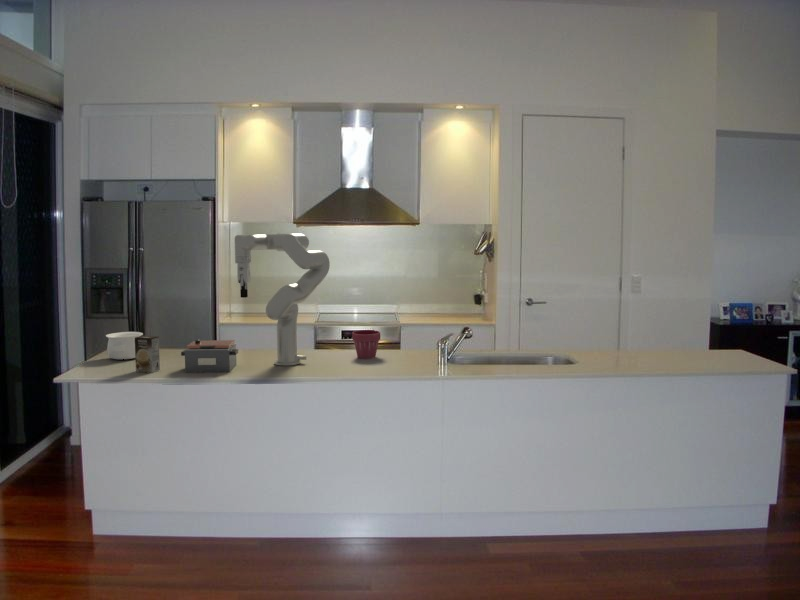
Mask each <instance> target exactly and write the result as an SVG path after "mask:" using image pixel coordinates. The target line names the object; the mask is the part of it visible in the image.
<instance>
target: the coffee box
mask: <svg viewBox="0 0 800 600" xmlns="http://www.w3.org/2000/svg"><path fill="white" fill-rule="evenodd" d="M160 356H161V355H160V336H159V335H158V336H156V335H144V334H143V335H141V336H139V337H135V358H134V359H135V360H134V361H135V372H136V373H145V372H147V373H149V374H153V373H156V371H157V372H159V370H160V371H161V363H160V361H161V360H160V359H161V358H160ZM147 373H146V374H147Z"/></svg>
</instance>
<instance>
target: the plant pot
mask: <svg viewBox="0 0 800 600" xmlns="http://www.w3.org/2000/svg"><path fill="white" fill-rule="evenodd" d="M351 334H352V336H351V338H352V341H353V343H354V346H355V352H356V356H357V359H358V358H359V359H363V360H366V359H367V360H368V359H374V358H376V355H377V352H378V347H379V340H381V331H379V330H375V329H373V330H372V329H362V330H354V331H352V333H351Z"/></svg>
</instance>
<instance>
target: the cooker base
mask: <svg viewBox="0 0 800 600" xmlns="http://www.w3.org/2000/svg"><path fill="white" fill-rule="evenodd" d="M238 354H239V349H238V348H237V344H235V343H234V344H233V345H232V346H230V347H229V348H187V347H186V349H184V350H183V351H181V352H180V356H182V357H183V356H184V367H185V368H184V370H185V373H230V372H231V371H232V370H233V369H234V368H236V366H237V355H238Z"/></svg>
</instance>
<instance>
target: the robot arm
mask: <svg viewBox="0 0 800 600" xmlns="http://www.w3.org/2000/svg"><path fill="white" fill-rule="evenodd" d="M309 245H310V240H309V238H308V236H307V235H306V234H303V233H298V232H297V233H296V232H295V233H291V232H290V233H288V232H287V233H281V232H279V233H276V234H267V233H266V234H263V233H262V234H260V233H259V234H257V233H256V234H237V235H235V236H234V260H235V262H234V263H235V264H237V267H236V268H237V283H238V284H239V287H240V298H242V299H243V298H246V299H247V298H248V297H249V295H248V294H249V293H248V284H249V283H251V280H252V276H251V267H250V264H252V254H251V252H252V251H259V250H260V251H264V250H267V251H268V250H275V251H277V252H285V254H286V255H287V256H288V257H289V258H290V259H291V261H293V262H294V263H295V265H297V266H298V267H299V269H302V270H307V271H305V273H304V274H302V276H300V278H299V279H298V280H297V281H295V282H294V283H289V284H285V285H283V286H282V287H281V288H280V289H278V291H276V293H275V294H273V296H272V298H270V300H269V301H268V302H267V305H266V306H265V314H266V317H268V319H270V320H273V321H277V322H276V323H277V324H276V350H277V351H276V352H277V353H276V355H277V358H276V360H274V361H273V364H274V365H276V366H287V367H289V366H296V365H300V364H301V361H302V360H304V361H306V360H307V355H300V354H299V352H298V330H297V329H298V327H297V325H298V315H299V304H301V303H304V302H305V301H306V300H307V299H308V298H310V296H311V295H312V294H313V292H314V291H315V290H316V289H317V287H318V286H319V285H320V284H321V283H322V282H323V281H324V280H325V278H326V277H327V275H328V274H329V271H330V266H331V265H330V264H331V262H330V259H329V256H328V254H327V253H326V252H325V251H322V250H315V249H314V250H313V249H312V250H307V248H308V247H309Z"/></svg>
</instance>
